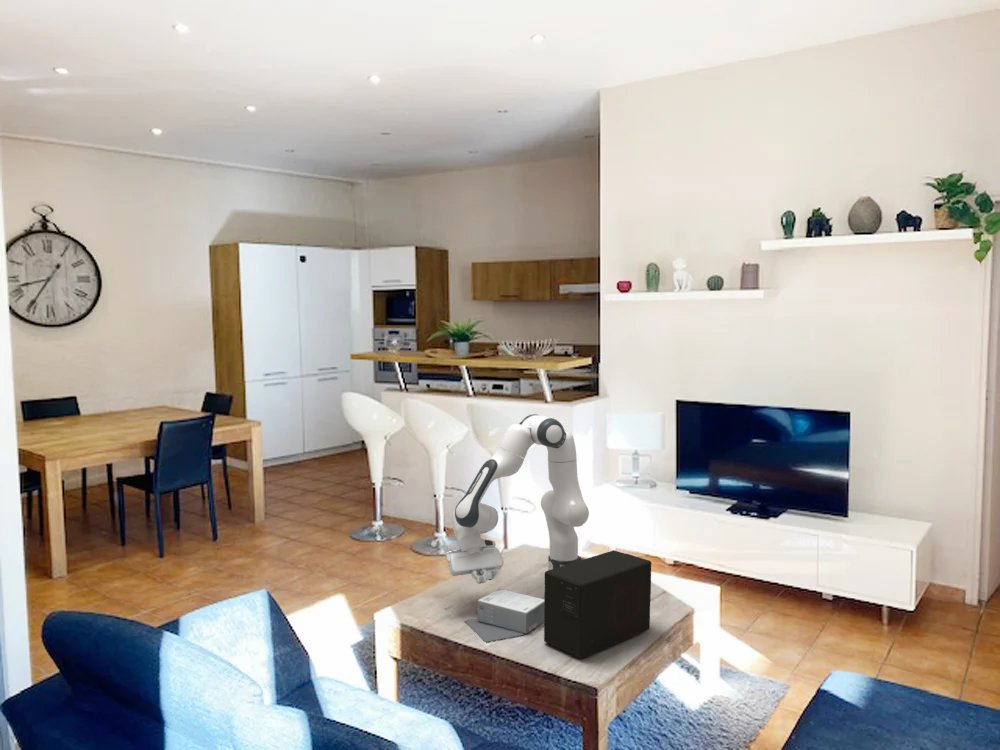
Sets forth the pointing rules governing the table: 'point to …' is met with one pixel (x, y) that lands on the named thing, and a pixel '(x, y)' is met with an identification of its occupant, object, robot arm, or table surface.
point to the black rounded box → (597, 602)
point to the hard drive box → (511, 610)
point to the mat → (491, 631)
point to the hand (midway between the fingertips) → (481, 582)
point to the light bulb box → (487, 574)
